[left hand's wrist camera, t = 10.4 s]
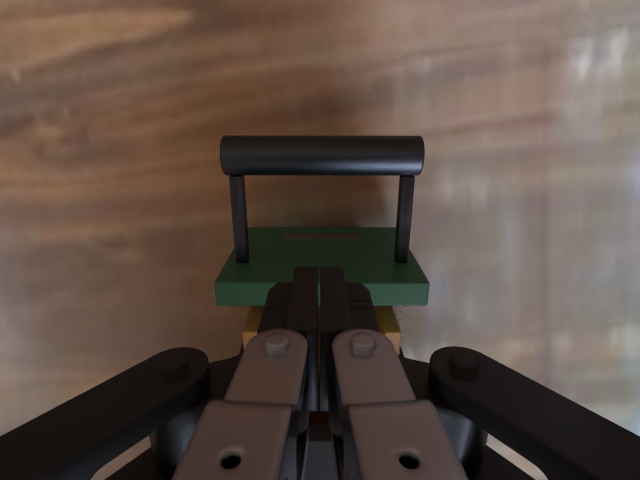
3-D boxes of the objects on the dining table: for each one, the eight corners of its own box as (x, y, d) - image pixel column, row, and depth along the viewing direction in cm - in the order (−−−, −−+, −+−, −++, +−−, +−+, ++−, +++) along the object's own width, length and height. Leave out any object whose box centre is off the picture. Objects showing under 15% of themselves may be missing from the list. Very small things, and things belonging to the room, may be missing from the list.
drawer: (238, 126, 22) (199, 141, 15) (404, 127, 22) (445, 141, 15) (261, 456, 31) (243, 566, 24) (380, 456, 31) (399, 566, 24)
